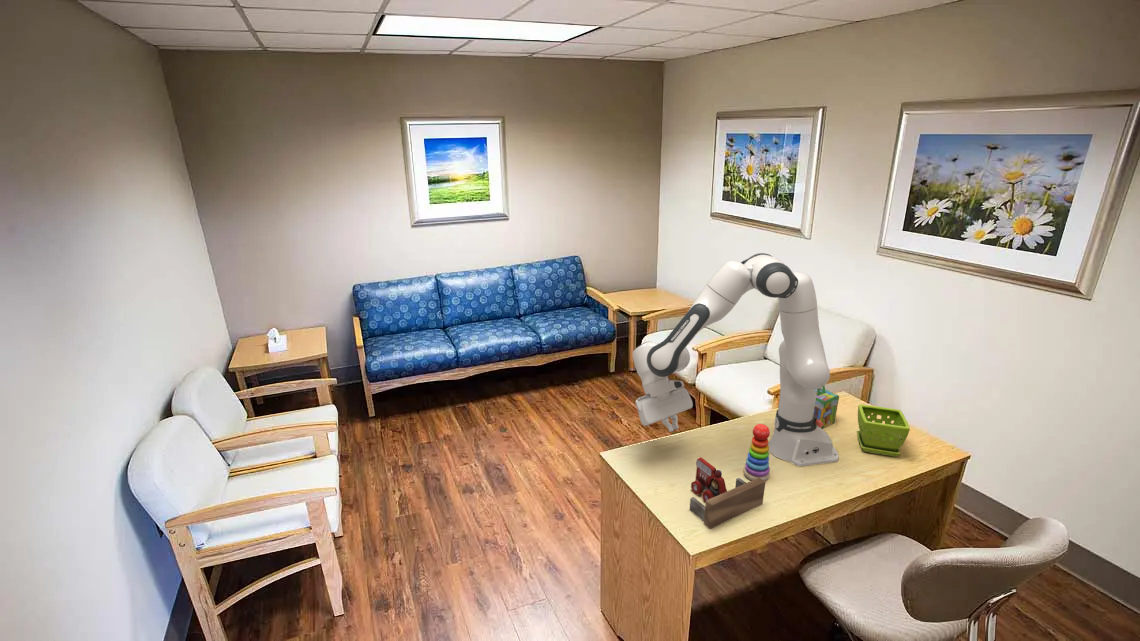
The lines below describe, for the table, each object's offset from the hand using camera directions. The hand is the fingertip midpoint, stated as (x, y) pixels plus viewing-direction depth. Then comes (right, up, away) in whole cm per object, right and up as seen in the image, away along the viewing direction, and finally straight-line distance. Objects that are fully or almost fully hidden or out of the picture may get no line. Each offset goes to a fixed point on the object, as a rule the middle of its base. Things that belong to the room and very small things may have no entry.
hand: (674, 430), depth 180 cm
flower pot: (+73, -9, +12) cm, 74 cm away
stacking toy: (+26, -14, -3) cm, 30 cm away
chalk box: (+60, -2, +29) cm, 67 cm away
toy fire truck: (+8, -18, -12) cm, 23 cm away
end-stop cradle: (+12, -19, -17) cm, 28 cm away
